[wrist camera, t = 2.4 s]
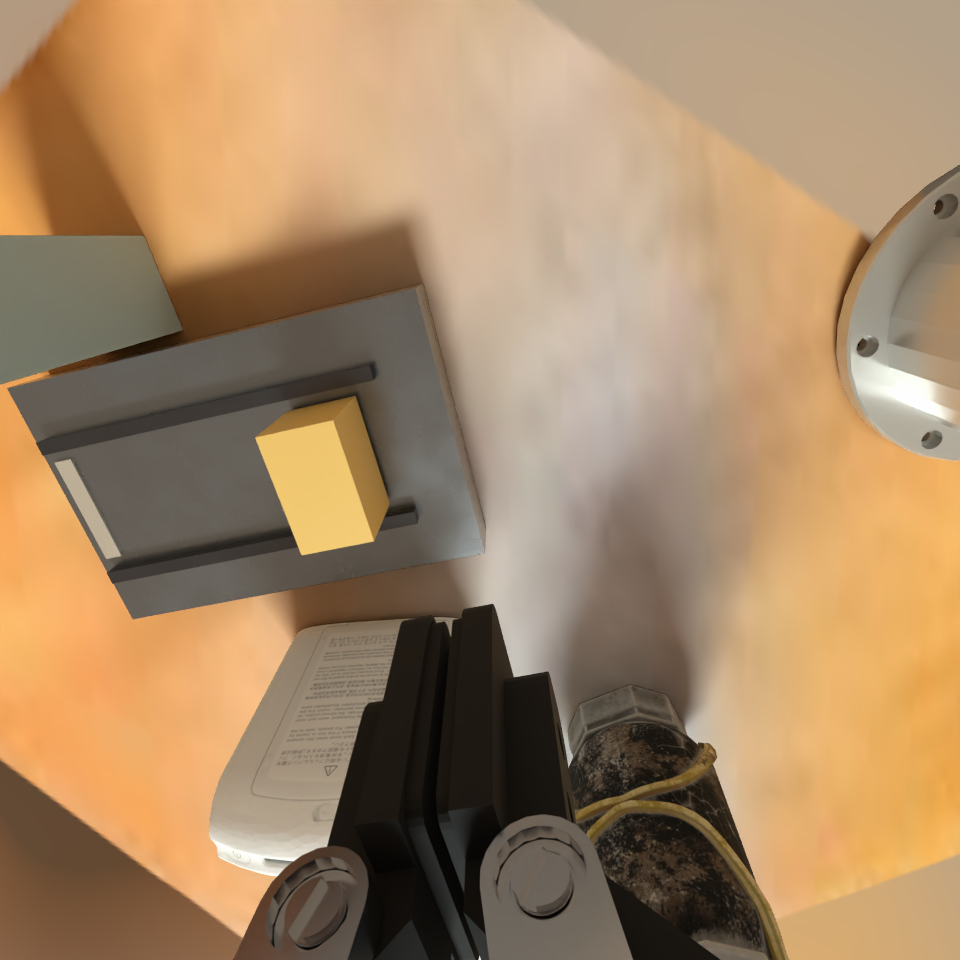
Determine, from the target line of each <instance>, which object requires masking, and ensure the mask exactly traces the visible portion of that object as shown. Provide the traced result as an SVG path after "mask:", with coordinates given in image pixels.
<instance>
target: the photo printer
mask: <svg viewBox="0 0 960 960" xmlns="http://www.w3.org/2000/svg"><path fill="white" fill-rule="evenodd" d="M434 618H435V620H436V623H438V622H443V621H445V622H446V624H447V626H448V629H449V632H450V636H451V631H452V622H453V620H454V619H459V618H448V617H434ZM411 619H415V618H411ZM404 620H410V619H393V620H378V621H365V622H351V623H337V624H327V625H319V626H314V627H309V628H305V629H303V630H301V631H299V632H298V633H297V635H296V636H295V638H294V640H293V641H292V643H291V645H290V647H289V649H288V651H287V653H286V655H285V657H284V659H283V661H282V663H281V664H280V666H279V668H278V670H277V672H276V674H275V676H274V678H273V680H272V681H271V683H270V685H269V687H268V689H267V691H266V693H265V695H264V697H263V698H262V700H261V702H260V704H259V706H258V708H257V710H256V712H255V714H254V715H253V717H252V719H251V721H250V723H249V725H248V727H247V728H246V730H245V732H244V734H243V736H242V738H241V740H240V742H239V744H238V745H237V748H236V749H235V751H234V753H233V755H232V757H231V759H230V761H229V762H228V764H227V766H226V768H225V770H224V772H223V774H222V776H221V778H220V780H219V783H218V786H217V789H216V792H215V795H214V799H213V803H212V808H211V815H210V825H209V836H210V839H211V840H212V841H213V842H214V843H215V844H216V846H217V852H218V856H219V857H220V858H221V859H223V860H225V861H227V862H230V863H232V864H234V865H236V866H239V867H242V868H245V869H248V870H251V871H255V872H258V873H262V874H267V875H272V876H278V875H279V874H280V873H281V872H282V871H283V870H284V868H285V867H287V866H288V865H289V864H291V863H292V862H293V861H295V860H296V859H297V858H299V857H300V856H302V855H304V854H306V853H308V852H310V851H313V850H315V849H317V848H322V847H327V844H328V841H329V837H330V833H331V829H332V826H333V822H334V818H335V814H336V811H337V807H338V803H339V799H340V796H341V792H342V788H343V785H344V781H345V777H346V773H347V770H348V766H349V762H350V758H351V755H352V751H353V747H354V743H355V740H356V736H357V732H358V728H359V725H360V721H361V717H362V714H363V711H364V708H365V706H366V705H367V704H368V703H371V702H376V701H382V700H383V698H384V693H385V689H386V685H387V680H388V676H389V672H390V667H391V663H392V659H393V654H394V650H395V646H396V641H397V637H398V633H399V628H400V625H401V622H402V621H404Z"/></svg>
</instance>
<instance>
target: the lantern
mask: <svg viewBox="0 0 960 960" xmlns="http://www.w3.org/2000/svg"><path fill="white" fill-rule="evenodd" d="M568 739H569V746H570V750H571V753H572V754H573V759H572V761H571V764H570V766H569V776H570V783H571V789H572V796H573V803H574V810H575V816H576V823H577V826H578V827H579V828H580V829H581V830H582V831H583V832H584V833H585V834H586V835H587V836H588V837H589V839H590V840H591V842H592V844H593V846H594V848H595V850H596V852H597V854H598V857H599V860H600V863H601V866H602V869H603V872H604V874H605V875H606V876H607V877H609V878H610V879H612V880H613V881H614V882H616V883H617V884H618V885H620V886H621V887H622V888H624V889H625V890H626V891H628V892H629V893H631V894H632V895H633V896H635V897H636V898H637V899H639V900H640V901H641V902H643V903H644V904H646V905H647V906H648V907H650V908H651V909H652V910H654V911H655V912H656V913H658V914H659V915H660V916H662V917H663V918H665V919H666V920H667V921H669V922H670V923H671V924H673V925H674V926H675V927H677V928H678V929H680V930H681V931H682V932H684V933H685V934H686V935H688V936H689V937H690V938H692V939H693V940H695V941H696V942H697V943H699V944H700V945H701V946H703V947H704V948H705V949H707V950H708V951H709V952H711V953H712V954H714V955H715V956H716V957H718V958H719V959H720V960H789V959H788V956H787V953H786V950H785V947H784V943H783V940H782V937H781V933H780V930H779V928H778V925H777V922H776V919H775V917H774V914H773V912H772V909H771V907H770V905H769V903H768V902H767V900H766V898H765V896H764V895H763V893H762V891H761V890H760V888H759V886H758V885H757V883H756V881H755V878H754V875H753V872H752V870H751V867H750V864H749V861H748V859H747V856H746V853H745V850H744V848H743V845H742V842H741V839H740V837H739V834H738V831H737V828H736V826H735V823H734V820H733V818H732V815H731V812H730V809H729V807H728V804H727V801H726V798H725V796H724V793H723V790H722V787H721V785H720V782H719V779H718V776H717V774H716V771H715V768H714V766H713V763H714V762H715V760H716V759H717V755H716V751H715V749H714V748H713V747H712V746H711V745H710V744H709V743H705V744H704V743H698V744H696V743H695V742H694V741H693V740H692V739H691V738H689V737H688V736H687V733H686V731H685V728H684V726H683V725H682V723H681V721H680V719H679V717H678V715H677V714H676V712H675V710H674V708H673V706H672V704H671V702H670V701H669V699H668V697H667V695H665V694H661V693H657V692H654V691H650V690H647V689H643V688H639V687H636V686H632V685H627V686H625V687H622V688H620V689H617V690H615V691H612V692H609V693H607V694H604V695H602V696H599V697H596V698H594V699H591V700H589V701H586V702H584V703H581V704H580V705H579V707H578V709H577V711H576V714H575V716H574V718H573V720H572V723H571V725H570V727H569V730H568Z"/></svg>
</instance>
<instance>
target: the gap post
mask: <svg viewBox="0 0 960 960" xmlns="http://www.w3.org/2000/svg"><path fill="white" fill-rule="evenodd" d="M182 330H183V328H182V326H181V324H180V321H179V319H178V316H177V314H176V312H175V309H174V307H173V304H172V302H171V300H170V297H169V295H168V292H167V290H166V287H165V285H164V283H163V280H162V278H161V275H160V273H159V271H158V268H157V266H156V263H155V261H154V258H153V256H152V254H151V251H150V249H149V246H148V244H147V242H146V239H145V237H144V236H13V235H0V384H4V383H7V382H10V381H14V380H17V379H21V378H24V377H27V376H31V375H34V374H37V373H41V372H44V371H47V370H51V369H54V368H58V367H61V366H64V365H68V364H71V363H74V362H78V361H81V360H84V359H88V358H91V357H95V356H98V355H101V354H105V353H108V352H111V351H115V350H118V349H121V348H125V347H128V346H132V345H135V344H138V343H142V342H145V341H148V340H152V339H155V338H158V337H162V336H165V335H169V334H172V333H175V332H179V331H182Z"/></svg>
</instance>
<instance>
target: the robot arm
mask: <svg viewBox="0 0 960 960" xmlns="http://www.w3.org/2000/svg"><path fill="white" fill-rule="evenodd" d="M935 205H936V206H935ZM934 206H935V210H933V209H934ZM860 340H861V343H860V345H859V346H858V347H857V345H858V343H859V342H860ZM836 355H837V362H838V368H839V374H840V380H841V382H842V385H843V387H844V390H845V392H846V395H847V397H848V399H849V402H850V403H851V405H852V406H853V408H854V409H855V410H856V412H857V413H858V414H859V416H860V417H861V419H862V420H863V421H864V422H865V423H866V424H867V425H868V426H870V427H871V428H872V429H873V430H874V431H875V432H877V433H878V434H879V435H880V436H881V437H883V438H885V439H887V440H889V441H891V442H893V443H894V444H896V445H898V446H900V447H901V448H903V449H906V450H908V451H911V452H913V453H915V454H918V455H921V456H924V457H929V458H935V459H941V460H948V461H960V165H958V166H957V167H955V168H954V169H952V170H951V171H949V172H947V173H946V174H944V175H943V176H941V177H940V178H938V179H936V180H935V181H933V182H932V183H930V184H929V185H927V186H926V187H925V188H924V189H923V190H921V191H920V192H919V193H918V194H917V195H916V196H914V197H913V198H912V199H911V200H910V201H909V202H908V203H907V204H905V205H904V206H903V207H902V208H901V209H900V210H899V211H898V212H897V213H896V214H895V215H894V216H893V218H892V219H891V220H890V221H889V222H888V223H887V225H886V226H885V227H884V228H883V229H882V231H881V232H880V233H879V234H878V235H877V236H876V238H875V239H874V241H873V242H872V244H871V246H870V247H869V249H868V250H867V252H866V254H865V255H864V257H863V258H862V260H861V262H860V263H859V265H858V266H857V269H856V271H855V273H854V276H853V278H852V280H851V283H850V285H849V287H848V290H847V292H846V294H845V297H844V301H843V305H842V309H841V314H840V318H839V322H838V327H837V349H836ZM479 955H480V958H481V960H720V959H719V958H718V957H716V956H715V955H714V954H712V953H711V952H709V951H708V950H707V949H705V948H704V947H703V946H701V945H700V944H699V943H697V942H696V941H695V940H693V939H692V938H690V937H689V936H688V935H686V934H685V933H684V932H682V931H681V930H680V929H678V928H677V927H675V926H674V925H673V924H671V923H670V922H669V921H667V920H666V919H665V918H663V917H662V916H660V915H659V914H658V913H656V912H655V911H654V910H652V909H651V908H650V907H648V906H647V905H646V904H644V903H643V902H641V901H640V900H639V899H637V898H636V897H635V896H633V895H632V894H631V893H629V892H628V891H626V890H625V889H624V888H622V887H621V886H620V885H618V884H617V883H616V882H614V881H613V880H612V879H610V878H609V877H607V876H606V875H605V874H604V872H603V869H602V866H601V863H600V860H599V857H598V854H597V852H596V850H595V848H594V846H593V844H592V842H591V840H590V839H589V837H588V836H587V835H586V834H585V833H584V832H583V831H582V830H581V829H580V828H579V827H578V826H577V823H576V816H575V810H574V803H573V796H572V789H571V783H570V776H569V769H568V762H567V756H566V750H565V744H564V738H563V733H562V727H561V722H560V717H559V713H558V708H557V704H556V699H555V695H554V691H553V687H552V682H551V678H550V675H549V672H543V673H537V674H532V675H526V676H520V677H513V673H512V669H511V665H510V662H509V658H508V654H507V650H506V646H505V643H504V639H503V635H502V631H501V627H500V624H499V620H498V616H497V613H496V609H495V607H494V605H493V604H490V605H484V606H479V607H474V608H468V609H464V610H463V612H462V618H459V619H454V620H453V622H452V631H451V636H450V632H449V629H448V626H447V624H446V622H445V621H443V622H438V623H436V620H435V618H434V617H433V616H432V615H431V616H426V617H420V618H415V619H410V620H404V621H402V622H401V625H400V628H399V633H398V637H397V641H396V646H395V650H394V654H393V659H392V663H391V667H390V672H389V676H388V680H387V685H386V689H385V693H384V698H383V700H382V701H376V702H371V703H368V704H367V705H366V706H365V708H364V711H363V714H362V717H361V721H360V725H359V728H358V732H357V736H356V740H355V743H354V747H353V751H352V755H351V758H350V762H349V766H348V770H347V773H346V777H345V781H344V785H343V788H342V792H341V796H340V799H339V803H338V807H337V811H336V814H335V818H334V822H333V826H332V829H331V833H330V837H329V841H328V844H327V847H322V848H317V849H315V850H313V851H310V852H308V853H306V854H304V855H302V856H300V857H299V858H297V859H296V860H295V861H293V862H292V863H291V864H289V865H288V866H287V867H285V868H284V870H283V871H282V872H281V873H280V874H279V875H278V876H277V877H276V878H275V879H274V881H273V882H272V883H271V884H270V886H269V888H268V889H267V891H266V893H265V894H264V896H263V898H262V899H261V901H260V903H259V905H258V907H257V909H256V912H255V914H254V916H253V918H252V920H251V922H250V924H249V926H248V929H247V931H246V933H245V935H244V937H243V939H242V941H241V943H240V945H239V948H238V950H237V952H236V954H235V956H234V958H233V960H478V959H479Z"/></svg>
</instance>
